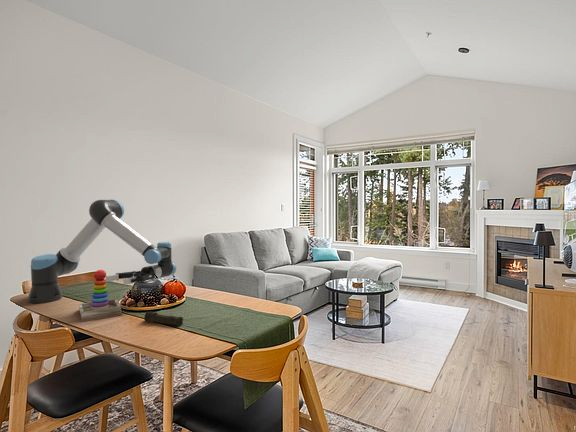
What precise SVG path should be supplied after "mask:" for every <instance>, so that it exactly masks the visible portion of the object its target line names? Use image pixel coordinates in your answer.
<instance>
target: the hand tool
mask: <svg viewBox="0 0 576 432" xmlns="http://www.w3.org/2000/svg"><path fill="white" fill-rule="evenodd" d="M144 321H145V322H146V323H151V324H155V323H158V324H164V325H171V326H176V327H177V328H179V327H181V326H182V325H183V323H184V322H183V321H184V318H183V316H176V315H175V316H174V315H165V314H160V313H158V312H156V311H146V312H145V313H144Z"/></svg>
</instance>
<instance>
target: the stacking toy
mask: <svg viewBox="0 0 576 432" xmlns="http://www.w3.org/2000/svg"><path fill="white" fill-rule="evenodd" d="M106 276H107V271H105V270H104V269H98V270H96V271H95V272H94V273H93V277H94V279H95V280H94V281H93V284H94V285H93V287H92V288H93V290H92V294H91V295H92V296H91V297H92V298H91V308H90V309H91V310H98V309H105V308H109V304H108V303H109V301H108V300H109V296H108V295H109V293H108V288H107V282H106Z"/></svg>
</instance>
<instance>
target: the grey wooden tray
mask: <svg viewBox="0 0 576 432" xmlns="http://www.w3.org/2000/svg"><path fill="white" fill-rule="evenodd" d="M108 301H109V303H108V304H109V308H105V309H98V310H91V309H90V308H91V302H92V301H91V302H84V303H83V302H82V303H78V310H79V316H80V319H81V322H83V323H84V322H88V321H93V320H100V319H102V320H103V319H107V318H113V317H119V316H120V317H121V316H123V312H122V305H121V304H120V303H119V301H118V299H117V298H111V299H108Z"/></svg>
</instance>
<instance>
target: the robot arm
mask: <svg viewBox="0 0 576 432" xmlns="http://www.w3.org/2000/svg"><path fill="white" fill-rule="evenodd" d="M88 213H89V216H90V218H91V219H90V220H89V221H88V222H87V223H86V224H85V225H84V227H83V228H82V229H81V230H80V231H79V232H78V233H77V235H76V236H75V237H74V238H73V239H72V240H71V242H69V244H68V245H67V246H66V247H61V248H60V250H59V251H57V253H56V254H52V253H50V254H42V255H37V256H35V257H33V258H32V259H31V261H30V273H31V274H30V275H31V278H30V279H31V287H30V291H29V292H28V297H27V302H28V303H29V304H30V303H31V304H41V303H43V304H44V303H51V302H54V301H55V302H56V301H58V300H60V299H62V298H63V292H62V290H61V288H60V285H59V281H58V279H59V278H58V277H61V276H64V275H67V274H71V273H72V272H74V271H76V270H77V268H79V267H78V266H79V262H80V261H81V256H82V254H83V253H84V252H85V251H86V250H87V249H88V248H89V247H90V245H91V244H93V242H94V241H95V240H96V239H97V238H98V236H99V235H100V234H101V233H102V232H103V231H104V230H105V228H106V229H108V231H110V232H111V233H113V234H114V235H115V236H117V237H118V238H119V239H121V240H122V241H123V242H125V243H126V244H127V245H128V246H129V247H130V248H132V249H134V251H136V252H138V253H139V254H140V255H141V256H143V259H144V261H145V263H147V264H149V266H144V267H142V268H141V270H137V271H136V270H133V271H125V272H116V273H115V274H112V275H106V277H105V280H106V283H109V282H112V281H119V280H122V279H123V285H124V286H125V285H131V284H136V283H139V282H140V283H144V282H147V281H146V280H148V279H153V280H154V279H155V278H156V276H157V277H158V278H156V279H161V278H165V277H169V276H170V277H171V276H173V275H174V274H175V273H177V266H176V264H175V263H174V262H172V243H171V242H170V241H160V242H158V243H157V244H156V246H155V244H154V243H151V242H150V241H149V240H148V239H146V238H145V237H144V236H142V235H141V234H140V233H139V232H137V231H136V230H134V229H133V228H132V227H131V226H129V225H128V224H127V223H125V222H124V221H123V220H121V219H122V218H123V217H124V215H125V214H124V213H125V208H124V205H123V203H122V202H120V201H118V200H115V199H97V200H95V201H94V202H92V203H91V204H90V206H89V209H88ZM152 273H153V274H152ZM154 274H155V275H156V276H155V275H154Z"/></svg>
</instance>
